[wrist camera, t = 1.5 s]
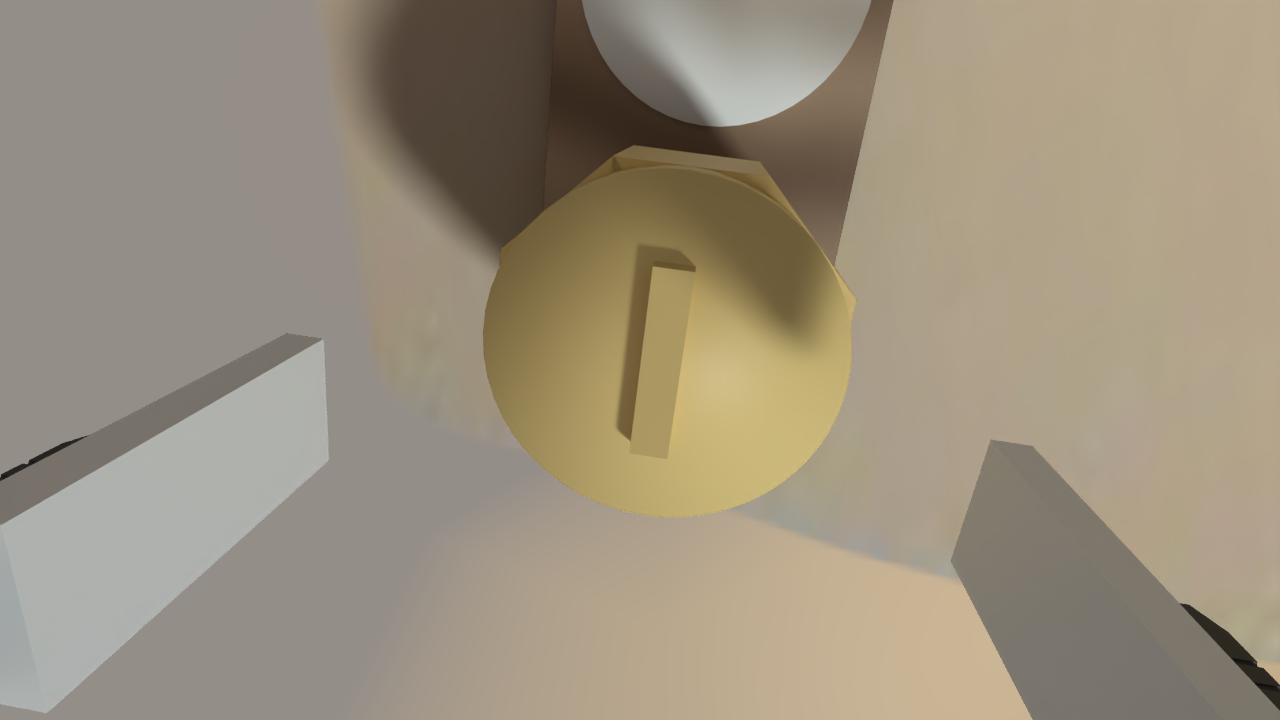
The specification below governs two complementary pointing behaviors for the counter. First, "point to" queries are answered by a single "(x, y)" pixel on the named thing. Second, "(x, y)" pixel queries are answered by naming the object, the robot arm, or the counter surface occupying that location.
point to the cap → (669, 335)
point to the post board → (719, 90)
